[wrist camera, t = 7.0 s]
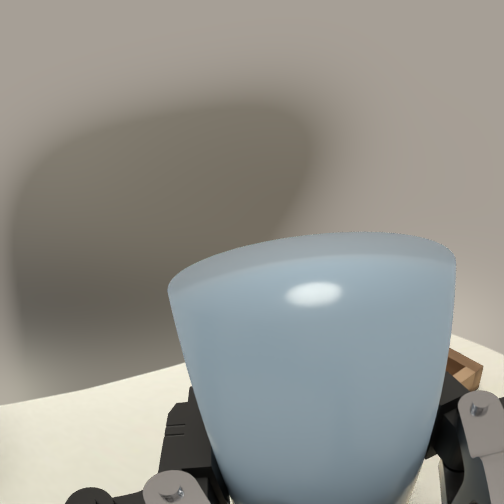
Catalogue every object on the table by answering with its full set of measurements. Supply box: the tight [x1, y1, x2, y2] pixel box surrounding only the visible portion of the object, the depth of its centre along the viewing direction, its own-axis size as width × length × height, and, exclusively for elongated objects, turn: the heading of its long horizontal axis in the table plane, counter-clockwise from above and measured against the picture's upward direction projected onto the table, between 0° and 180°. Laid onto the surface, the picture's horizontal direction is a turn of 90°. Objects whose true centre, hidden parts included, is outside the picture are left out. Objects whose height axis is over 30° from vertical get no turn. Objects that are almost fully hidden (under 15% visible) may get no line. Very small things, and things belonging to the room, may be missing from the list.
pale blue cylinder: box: [168, 232, 456, 504], centre depth 7 cm, size 6×6×12 cm
